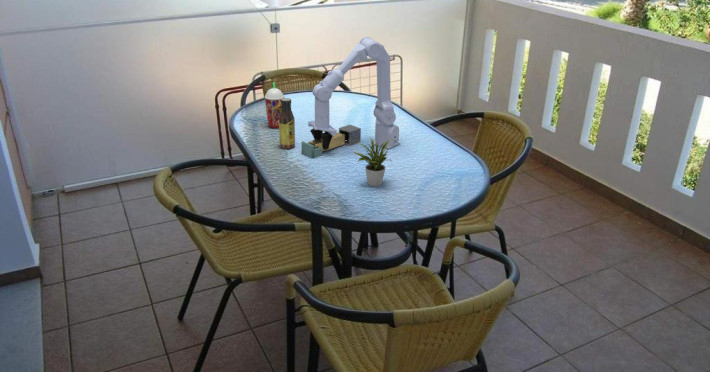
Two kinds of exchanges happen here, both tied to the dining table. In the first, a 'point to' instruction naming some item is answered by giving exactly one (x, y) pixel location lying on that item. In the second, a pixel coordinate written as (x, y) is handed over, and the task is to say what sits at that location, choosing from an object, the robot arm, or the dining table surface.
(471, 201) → the dining table surface
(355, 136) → the sleeve
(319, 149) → the socket
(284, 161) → the dining table surface
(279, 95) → the smoothie
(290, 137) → the sauce bottle
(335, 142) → the block
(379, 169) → the house plant
